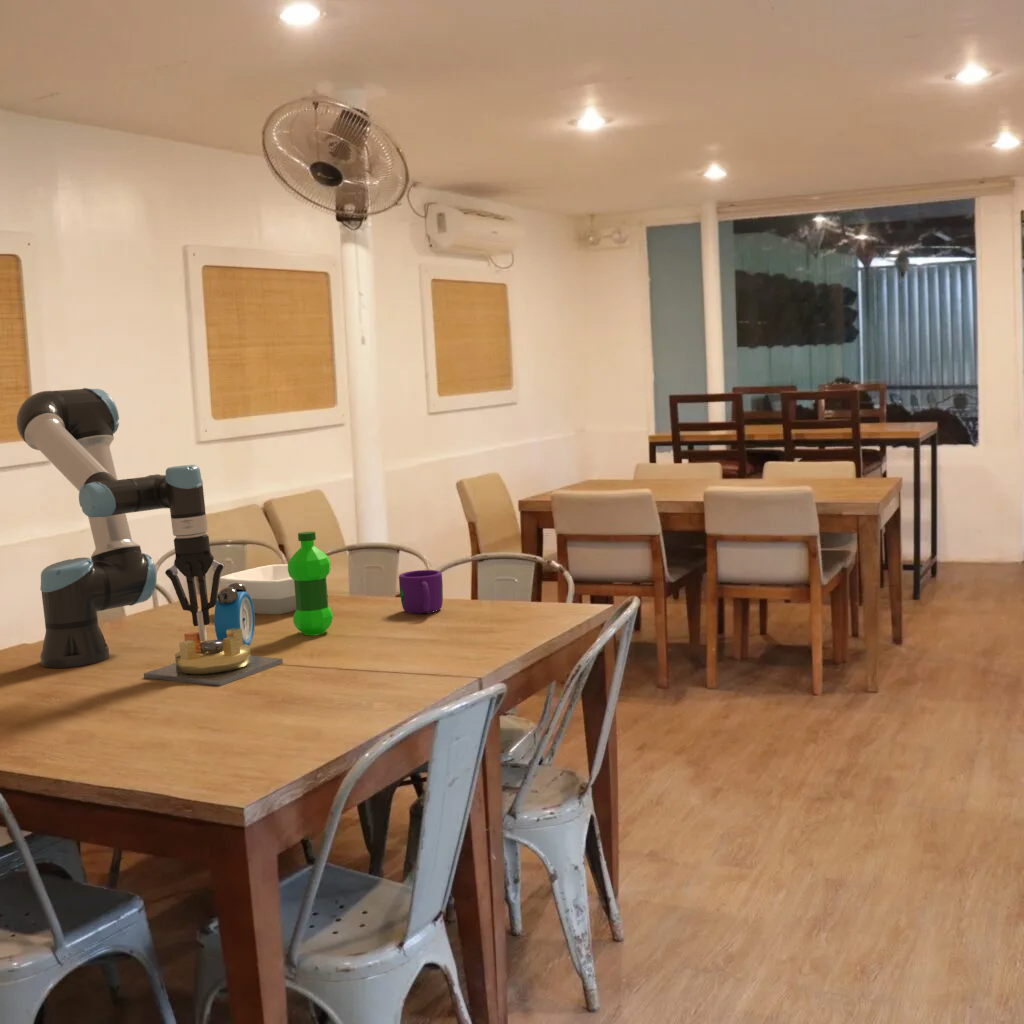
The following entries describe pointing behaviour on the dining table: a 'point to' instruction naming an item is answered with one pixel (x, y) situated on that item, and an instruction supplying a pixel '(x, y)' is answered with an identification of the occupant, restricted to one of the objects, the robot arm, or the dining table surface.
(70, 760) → the dining table surface
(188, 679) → the spindle plate
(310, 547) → the plastic bottle
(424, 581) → the mug
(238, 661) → the notched brass disc
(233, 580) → the bowl
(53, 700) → the dining table surface
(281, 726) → the dining table surface
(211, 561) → the robot arm
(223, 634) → the alarm clock
